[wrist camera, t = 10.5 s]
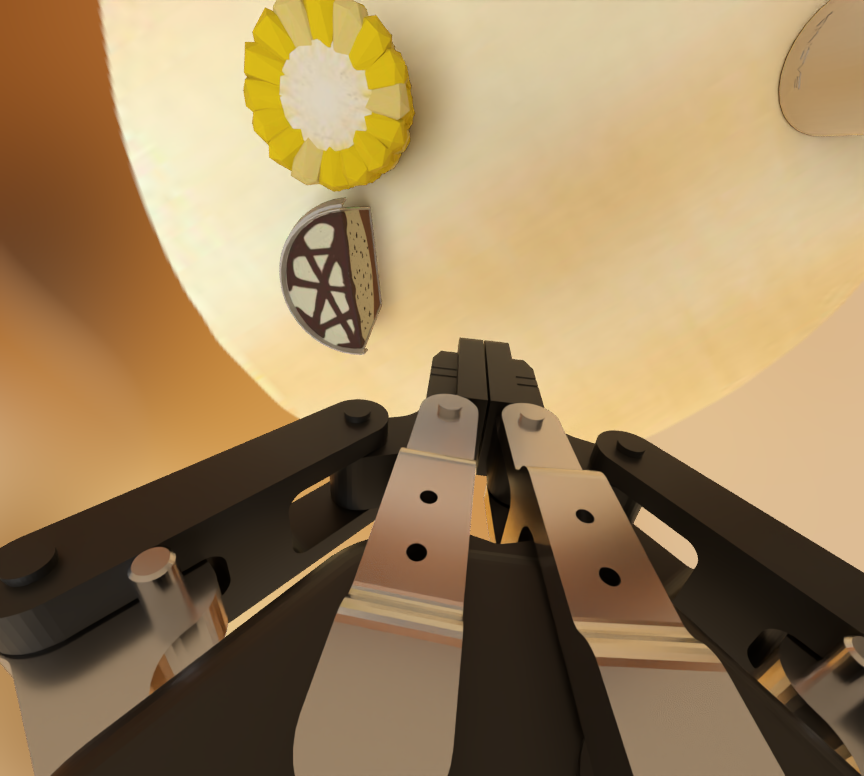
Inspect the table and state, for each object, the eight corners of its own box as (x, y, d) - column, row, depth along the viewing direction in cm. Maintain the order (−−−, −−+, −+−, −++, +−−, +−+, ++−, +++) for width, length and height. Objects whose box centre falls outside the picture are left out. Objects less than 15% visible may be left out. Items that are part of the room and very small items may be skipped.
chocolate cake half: (302, 192, 37) (253, 204, 29) (368, 188, 37) (338, 200, 28) (326, 319, 44) (292, 361, 35) (383, 318, 43) (362, 360, 34)
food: (302, 55, 34) (424, 62, 34) (307, 210, 37) (418, 216, 37) (198, -102, 19) (414, -90, 19) (223, 177, 22) (406, 188, 22)
